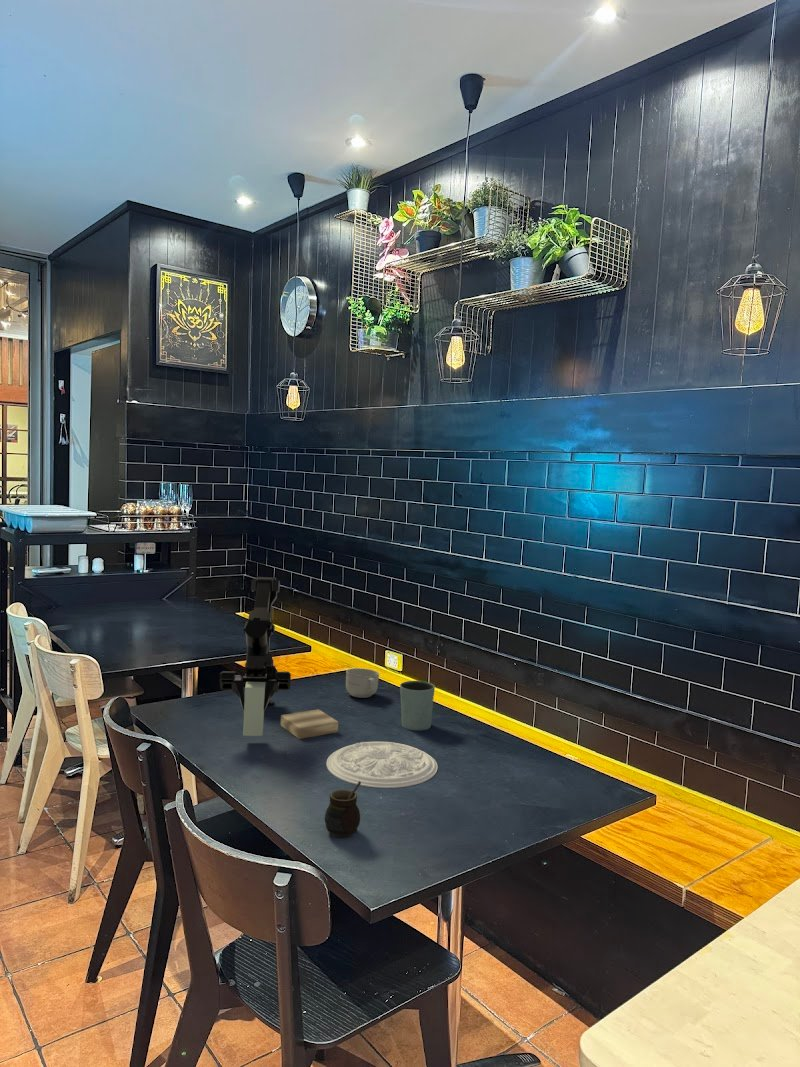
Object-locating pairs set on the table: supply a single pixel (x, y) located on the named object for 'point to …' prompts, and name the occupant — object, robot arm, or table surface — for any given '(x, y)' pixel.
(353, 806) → the mate gourd
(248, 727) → the sage pillar
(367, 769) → the ceiling medallion
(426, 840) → the table surface
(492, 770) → the table surface
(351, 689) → the teacup
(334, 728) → the maple base
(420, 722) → the grey-green cup
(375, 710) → the table surface
